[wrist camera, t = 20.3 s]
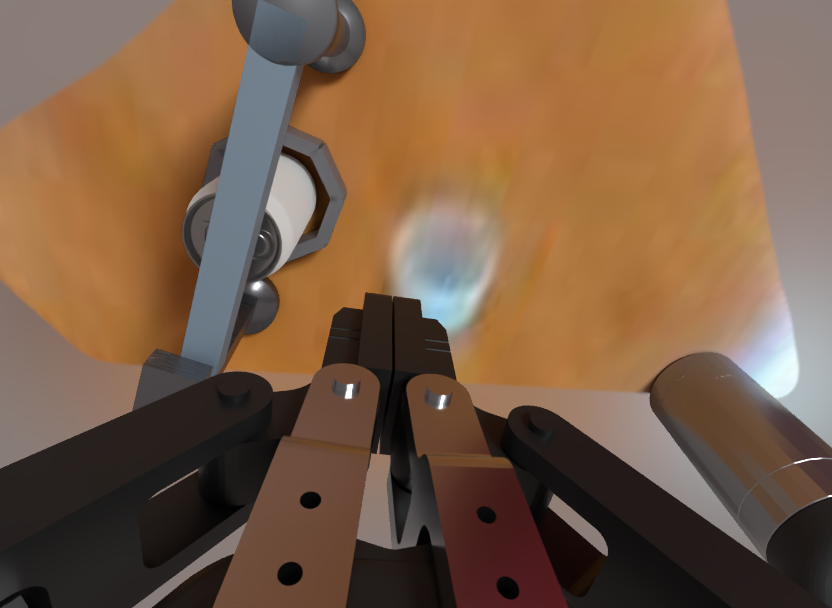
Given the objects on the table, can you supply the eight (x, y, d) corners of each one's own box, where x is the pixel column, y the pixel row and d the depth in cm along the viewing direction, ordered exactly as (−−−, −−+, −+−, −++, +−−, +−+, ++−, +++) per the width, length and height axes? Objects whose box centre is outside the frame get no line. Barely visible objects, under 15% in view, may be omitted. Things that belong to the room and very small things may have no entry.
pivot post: (376, 12, 33) (367, -18, 21) (350, 85, 35) (329, 96, 23) (306, -24, 31) (254, -79, 19) (284, 53, 33) (224, 47, 21)
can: (311, 237, 40) (281, 301, 29) (232, 220, 39) (172, 279, 28) (324, 161, 37) (296, 200, 26) (239, 140, 36) (175, 171, 25)
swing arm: (258, -60, 19) (244, -73, 18) (351, -16, 20) (347, -23, 18) (173, 347, 28) (158, 366, 26) (241, 366, 29) (231, 386, 27)
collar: (360, 157, 37) (358, 163, 35) (319, 266, 41) (315, 277, 39) (233, 101, 35) (222, 103, 32) (202, 221, 39) (191, 231, 36)
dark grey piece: (295, 262, 41) (232, 391, 25) (268, 336, 44) (198, 493, 28) (225, 236, 39) (111, 354, 23) (203, 314, 42) (90, 465, 26)
